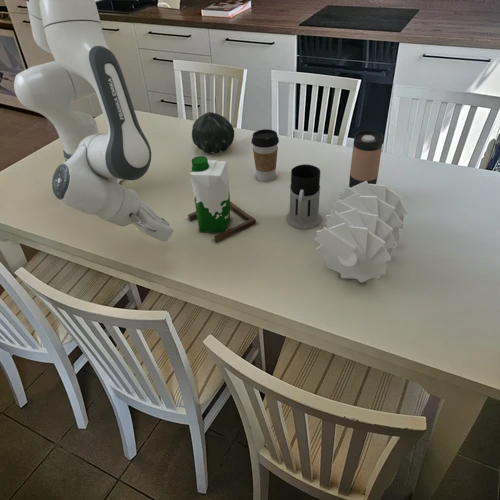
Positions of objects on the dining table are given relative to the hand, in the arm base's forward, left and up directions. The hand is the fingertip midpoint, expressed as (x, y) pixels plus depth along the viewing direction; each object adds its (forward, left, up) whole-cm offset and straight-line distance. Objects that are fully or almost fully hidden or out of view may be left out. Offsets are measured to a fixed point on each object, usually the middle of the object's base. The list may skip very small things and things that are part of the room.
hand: (165, 224), depth 114 cm
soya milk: (0, +14, -7) cm, 16 cm away
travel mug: (+18, +54, -7) cm, 57 cm away
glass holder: (+16, +33, -7) cm, 37 cm away
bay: (0, +16, -7) cm, 17 cm away
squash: (-39, +41, -7) cm, 57 cm away
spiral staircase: (+35, +34, -7) cm, 49 cm away
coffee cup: (-11, +42, -7) cm, 44 cm away
